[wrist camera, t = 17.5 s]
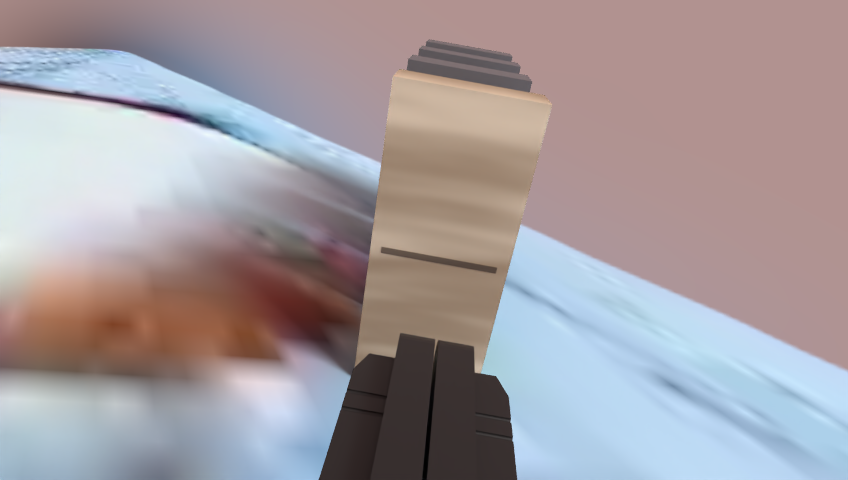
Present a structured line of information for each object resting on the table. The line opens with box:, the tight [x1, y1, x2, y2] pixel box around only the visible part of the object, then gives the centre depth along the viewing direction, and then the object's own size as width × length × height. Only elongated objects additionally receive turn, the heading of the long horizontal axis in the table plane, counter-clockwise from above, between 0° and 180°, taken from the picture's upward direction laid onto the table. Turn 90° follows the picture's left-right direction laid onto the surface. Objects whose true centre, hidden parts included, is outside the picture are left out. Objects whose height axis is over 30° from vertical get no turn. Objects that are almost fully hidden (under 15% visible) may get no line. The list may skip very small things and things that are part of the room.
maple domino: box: [355, 69, 552, 374], centre depth 19 cm, size 2×5×12 cm, turn 85°
